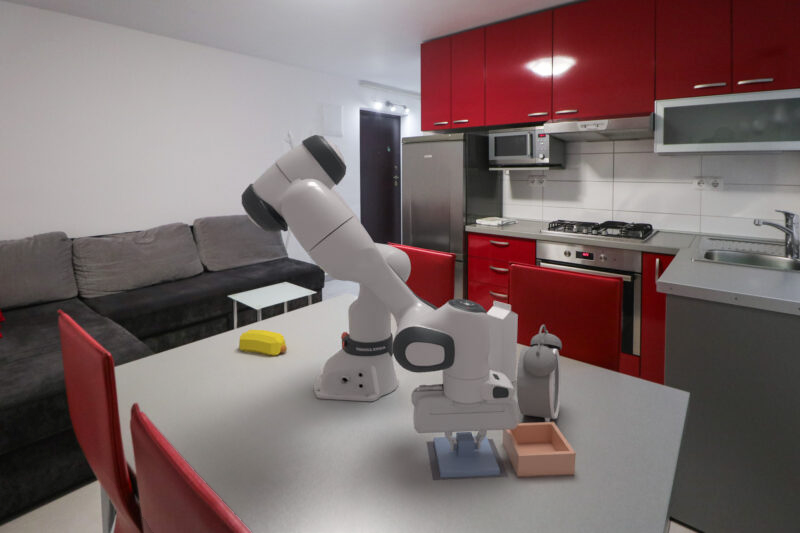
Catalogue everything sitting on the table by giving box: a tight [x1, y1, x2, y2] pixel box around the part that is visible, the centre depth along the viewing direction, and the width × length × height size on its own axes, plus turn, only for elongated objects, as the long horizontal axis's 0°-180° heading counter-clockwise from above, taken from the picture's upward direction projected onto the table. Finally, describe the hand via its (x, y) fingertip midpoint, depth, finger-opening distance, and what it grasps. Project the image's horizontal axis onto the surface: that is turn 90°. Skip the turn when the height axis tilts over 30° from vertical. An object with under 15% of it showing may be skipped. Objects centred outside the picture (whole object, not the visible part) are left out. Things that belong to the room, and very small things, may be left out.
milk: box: [486, 300, 519, 383], centre depth 120 cm, size 6×6×22 cm
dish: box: [502, 421, 577, 478], centre depth 88 cm, size 11×11×5 cm
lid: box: [433, 431, 500, 478], centre depth 88 cm, size 11×11×5 cm
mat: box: [426, 438, 509, 481], centre depth 89 cm, size 14×12×1 cm
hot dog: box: [238, 329, 288, 357], centre depth 145 cm, size 18×7×8 cm
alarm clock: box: [516, 324, 563, 422], centre depth 102 cm, size 16×9×22 cm, turn 154°
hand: (464, 448), depth 88 cm, fingers closed on lid, 3 cm apart
